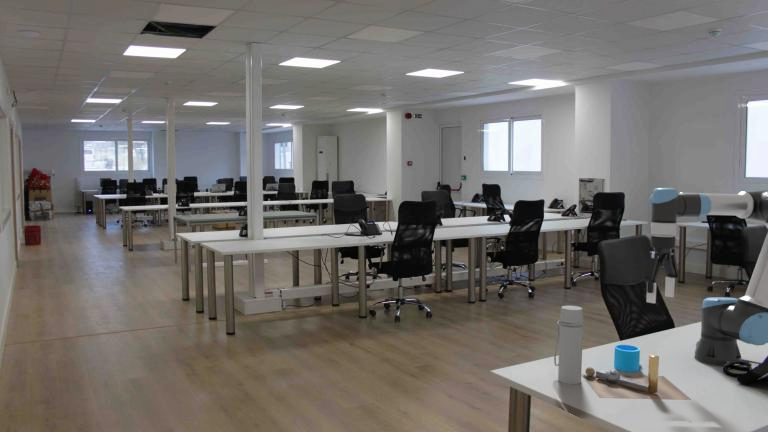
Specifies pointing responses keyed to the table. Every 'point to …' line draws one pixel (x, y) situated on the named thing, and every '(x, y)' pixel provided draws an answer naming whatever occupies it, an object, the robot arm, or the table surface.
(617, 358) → the mug
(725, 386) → the table surface
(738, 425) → the table surface
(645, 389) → the lever
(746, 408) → the table surface
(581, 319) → the water bottle
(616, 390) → the nutcracker base
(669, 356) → the table surface
